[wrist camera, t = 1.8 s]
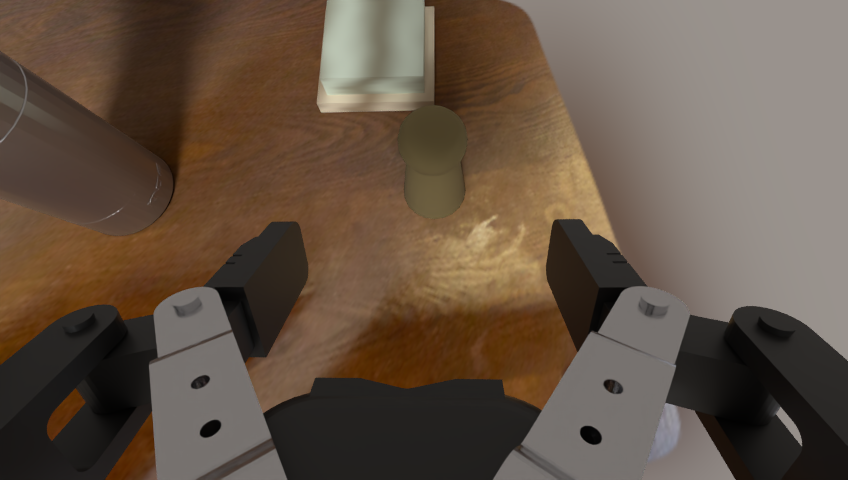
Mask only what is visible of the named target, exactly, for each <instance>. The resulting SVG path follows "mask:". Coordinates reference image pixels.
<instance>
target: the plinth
mask: <svg viewBox="0 0 848 480" xmlns="http://www.w3.org/2000/svg"><path fill="white" fill-rule="evenodd" d="M317 105H318V107H319V109H320V111H321V112H364V111H414V110H416V109H418V108H421V107H423V106H429V105H434V6H430V7H425V4H424V0H327V8H326V13H325V24H324V34H323V45H322V55H321V65H320V76H319V86H318V97H317Z"/></svg>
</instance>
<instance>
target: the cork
mask: <svg viewBox="0 0 848 480" xmlns="http://www.w3.org/2000/svg"><path fill="white" fill-rule="evenodd" d="M467 141H468V138H467V132H466V128H465V126H464V124H463V122H462V120H461V118H460V117H459V116H458V115H456V114H455V113H454V112H453V111H451V110H449V109H447V108H445V107H443V106H437V105H429V106H423V107H421V108H418V109H416V110H414V111H413V112H412V113H411V114H409V115H408V116H407V117H406V118H405V120H404V121H403V123H402V124H401V126H400V130H399V134H398V147H399V152H400V154H401V156H402V158H403V160H404V162H405V163H406V171H405V183H404V194H405V199H406V201H407V204H408V206H409V207H410V208H411V209H412V210H413V211H414V212H415V213H416V214H418V215H420V216H422V217H425V218H430V219H438V218H444V217H446V216H448V215H451V214H452V213H454V212H455V211H456V210H457V209H458V208H459V207H460V205H461V203H462V202H463V200H464V195H465V185H464V179H463V173H462V167H461V160H462V158H463V156H464V154H465V152H466V147H467Z"/></svg>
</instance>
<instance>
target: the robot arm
mask: <svg viewBox="0 0 848 480" xmlns="http://www.w3.org/2000/svg"><path fill="white" fill-rule="evenodd" d="M172 192H173V177H172V173H171V171H170V168H169V167H168V165H167V164H166V163H165V161H163V160H162V159H161V158H160V157H158V156H157V155H155V154H154V153H152V152H151V151H149V150H148V149H146V148H145V147H143V146H142V145H140V144H139V143H137V142H136V141H134V140H133V139H132V138H130V137H129V136H127V135H126V134H124V133H123V132H121V131H120V130H118V129H117V128H115V127H114V126H112V125H111V124H109V123H108V122H106V121H105V120H103V119H102V118H100V117H99V116H97V115H96V114H94V113H93V112H91V111H90V110H88V109H87V108H85V107H84V106H82V105H81V104H79V103H78V102H76V101H75V100H73V99H72V98H70V97H69V96H67V95H66V94H64V93H63V92H61V91H60V90H58V89H57V88H55V87H54V86H52V85H51V84H49V83H48V82H46V81H45V80H43V79H42V78H40V77H39V76H37V75H36V74H34V73H33V72H31V71H30V70H28V69H27V68H25V67H24V66H22V65H21V64H19V63H18V62H16V61H15V60H13V59H11V58H10V57H8V56H7V55H5V54H4V53H2V52H1V51H0V199H3V200H6V201H9V202H12V203H15V204H18V205H21V206H24V207H27V208H30V209H33V210H36V211H39V212H42V213H45V214H48V215H51V216H53V217H56V218H59V219H62V220H65V221H68V222H71V223H74V224H77V225H80V226H83V227H86V228H89V229H92V230H95V231H98V232H101V233H104V234H108V235H113V236H124V235H129V234H133V233H136V232H138V231H141V230H143V229H144V228H146V227H148V226H149V225H151V224H152V223H153V222H154V221H155V220H156V219H158V218H159V217H160V215H161V214H162V213H163V212H164V210H165V209H166V207H167V205H168V203H169V201H170V199H171V195H172ZM546 275H547V280H548V283H549V286H550V288H551V290H552V293H553V295H554V298H555V300H556V302H557V305H558V307H559V309H560V312H561V314H562V316H563V319H564V321H565V323H566V326H567V328H568V330H569V333H570V335H571V338H572V340H573V342H574V345H575V347H576V349H577V352H578V353H577V355H576V356H575V358H574V360H573V361H572V363H571V364H570V366H569V368H568V369H567V371H566V373H565V374H564V376H563V377H562V379H561V381H560V382H559V384H558V386H557V387H556V389H555V390H554V392H553V394H552V395H551V397H550V399H549V400H548V402H547V403H546V405H545V407H544V408H543V410H540V409H539V408H537V407H535V406H533V405H531V404H529V403H527V402H525V401H522V400H520V399H517V398H514V397H511V396H507V395H505V394H504V388H503V383H502V380H484V379H454V380H449V381H444V382H440V383H435V384H430V385H425V386H420V387H415V388H410V389H404V388H399V387H395V386H391V385H387V384H382V383H378V382H374V381H370V380H366V379H362V378H315V381H314V384H313V386H312V389H311V392H310V393H308V394H304V395H301V396H297V397H294V398H292V399H289V400H287V401H284V402H282V403H280V404H278V405H276V406H275V407H273V408H271V409H269V410H268V411H266V412H265V413H262V410H261V407H260V405H259V402H258V399H257V396H256V394H255V391H254V388H253V386H252V383H251V380H250V377H249V375H248V372H247V369H246V367H245V363H246V361H247V359H248V357H267V355H268V353H269V351H270V349H271V347H272V345H273V344H274V342H275V340H276V338H277V336H278V334H279V332H280V330H281V329H282V327H283V325H284V323H285V321H286V319H287V317H288V315H289V314H290V312H291V310H292V308H293V306H294V304H295V302H296V300H297V298H298V297H299V295H300V293H301V291H302V289H303V287H304V285H305V283H306V281H307V278H308V262H307V257H306V253H305V248H304V243H303V239H302V234H301V229H300V226H299V224H298V223H297V222H271V223H270V224H269V225H268V226H267V227H266V229H265V230H264V231H263V232H262V233H261V234H260V235H259V237H255V238H253V239H251V240H250V241H248V242H246V243H244V244H243V245H241V246H240V247H239V249H238V250H237V251H236V252H235V253H234V254H233V257H230V258H229V259H228V260H227V262H226V264H224V265H223V266H222V267H221V268H220V269H219V270H218V271H217V272H216V273H215V275H214V276H213V277H212V278H211V279H210V280H209V281H208V282H207V283H206V284H205V285H204V286H203V287H196V288H191V289H187V290H184V291H181V292H178V293H176V294H174V295H172V296H170V297H168V298H167V299H165V300H164V301H163V302H161V303H160V304H159V305H158V306H157V308H156V309H155V311H154V315H149V316H144V317H139V318H134V319H129V320H124V321H123V320H122V318H121V316H120V314H119V312H118V310H117V309H116V308H115V307H114V306H111V305H95V306H90V307H86V308H83V309H80V310H77V311H74V312H72V313H70V314H67V315H65V316H63V317H62V318H60V319H58V320H57V321H55V322H54V323H52V324H51V325H50V326H48V327H47V328H46V329H45V330H43V331H42V332H41V333H40V334H38V335H37V336H36V337H35V338H33V339H32V340H31V341H30V342H29V343H27V344H26V345H25V346H24V347H22V348H21V349H20V350H19V351H17V352H16V353H15V354H14V355H12V356H11V357H10V358H9V359H8V360H6V361H5V362H4V363H3V364H1V365H0V480H105V478H106V477H107V475H108V474H109V473H110V471H111V470H112V468H113V467H114V465H115V464H116V462H117V461H118V459H119V458H120V457H121V455H122V454H123V452H124V451H125V449H126V448H127V446H128V445H129V444H130V442H131V441H132V439H133V438H134V436H135V435H136V433H137V432H138V430H139V429H140V428H141V426H142V425H143V423H144V422H145V420H146V419H147V417H148V416H149V415H150V413H151V412H152V414H153V428H154V442H155V455H156V469H157V480H641V479H642V476H643V473H644V470H645V466H646V463H647V460H648V457H649V453H650V450H651V447H652V444H653V440H654V437H655V434H656V431H657V428H658V424H659V421H660V418H661V415H662V411H663V408H664V405H665V403H669V404H672V405H676V406H680V407H684V408H687V409H691V410H695V412H696V414H697V415H698V417H699V419H700V421H701V422H702V424H703V426H704V427H705V428H706V430H707V432H708V434H709V436H710V437H711V439H712V441H713V442H714V444H715V446H716V447H717V449H718V450H719V452H720V454H721V456H722V457H723V459H724V461H725V463H726V464H727V466H728V468H729V469H730V471H731V473H732V474H733V476H734V478H735V479H736V480H848V361H847V360H846V359H845V358H844V357H843V356H842V355H840V354H839V353H838V352H837V351H836V350H835V349H833V348H832V347H831V346H830V345H829V344H828V343H826V342H825V341H824V340H823V339H822V338H821V337H820V336H819V335H817V334H816V333H815V332H814V331H813V330H812V329H810V328H809V327H808V326H807V325H805V324H804V323H802V322H801V321H799V320H797V319H795V318H793V317H791V316H789V315H787V314H784V313H781V312H778V311H775V310H772V309H768V308H763V307H756V306H746V307H741V308H738V309H736V310H735V311H734V313H733V315H732V317H731V319H730V321H729V323H728V322H723V321H718V320H713V319H707V318H702V317H698V316H693V315H690V312H689V310H688V308H687V306H686V305H685V304H684V303H683V302H682V301H681V300H679V299H678V298H677V297H675V296H674V295H672V294H670V293H668V292H665V291H662V290H659V289H656V288H651V287H648V286H647V285H646V284H645V283H644V282H643V280H642V279H641V278H640V277H639V275H638V274H637V273H636V272H635V270H634V269H633V268H632V267H631V265H630V264H629V263H627V260H626V259H625V258H624V257H623V255H621V253H620V252H619V250H618V249H617V248H616V247H615V246H614V244H613V243H612V242H610V241H608V240H607V239H605V238H603V237H602V236H600V235H592V233H591V232H590V231H589V229H588V228H587V226H586V225H585V224H584V222H583V221H582V220H581V219H557V220H554V222H553V225H552V230H551V236H550V243H549V250H548V256H547V263H546ZM75 388H76V389H77V390H78V392H79V393H80V395H81V396H82V397H83V399H84V400H85V402H86V403H85V404H84V405H83V407H82V408H81V409H80V410H79V411H78V412H77V413H76V415H75V416H74V417H73V418H72V419H71V420H70V421H69V422H68V424H67V425H66V426H65V427H64V428H63V429H62V430H61V432H60V433H59V434H58V435H57V436H56V437H55V438H54V439H53V441H51V440H50V439H49V437H48V435H47V423H48V420H49V418H50V416H51V414H52V413H53V411H54V410H55V409H56V408H57V407H58V406H59V405H60V404H61V402H62V401H63V400H64V399H65V398H66V397H67V396H68V395H69V394H70V393H71V392H72V391H73V390H74V389H75ZM780 407H782V409H783V410H784V411H785V412H786V413H787V415H788V416H789V417H790V418H791V419H792V421H793V422H794V423H795V424H796V426H797V428H798V430H799V432H800V435H801V438H802V446H801V445H800V444H799V443H798V441H797V440H796V439H795V438H794V436H793V435H792V434H791V433H790V432H789V430H788V429H787V428H786V426H785V425H784V424H783V423H782V422H781V420H780V419H779V418H778V416H777V415H776V413H777V411H778V410H779V408H780Z"/></svg>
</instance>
